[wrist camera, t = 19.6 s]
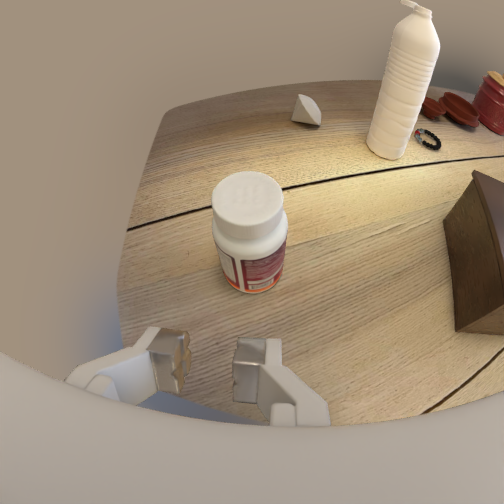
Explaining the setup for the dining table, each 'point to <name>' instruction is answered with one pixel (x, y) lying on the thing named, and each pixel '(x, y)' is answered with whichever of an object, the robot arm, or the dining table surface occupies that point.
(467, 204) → the chest
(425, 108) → the pottery
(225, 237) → the pill bottle
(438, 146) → the bracelet
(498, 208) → the lid
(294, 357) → the dining table surface
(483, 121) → the kitchen canister
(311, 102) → the gemstone
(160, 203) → the dining table surface
